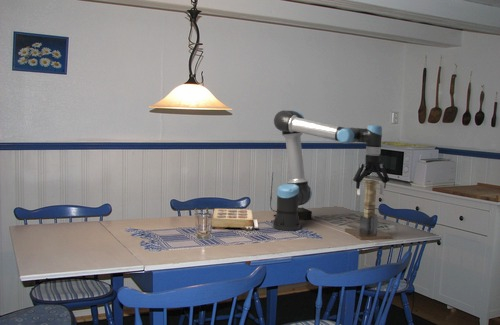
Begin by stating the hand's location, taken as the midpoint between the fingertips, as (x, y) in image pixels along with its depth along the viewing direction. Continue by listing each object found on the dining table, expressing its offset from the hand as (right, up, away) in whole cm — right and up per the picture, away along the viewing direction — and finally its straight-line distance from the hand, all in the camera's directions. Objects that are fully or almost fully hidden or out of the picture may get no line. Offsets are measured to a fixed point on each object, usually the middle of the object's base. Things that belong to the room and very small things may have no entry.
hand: (370, 194), depth 270 cm
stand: (-1, -22, +2) cm, 22 cm away
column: (0, -14, +2) cm, 14 cm away
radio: (-40, -17, +38) cm, 58 cm away
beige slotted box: (-72, -18, +14) cm, 76 cm away
